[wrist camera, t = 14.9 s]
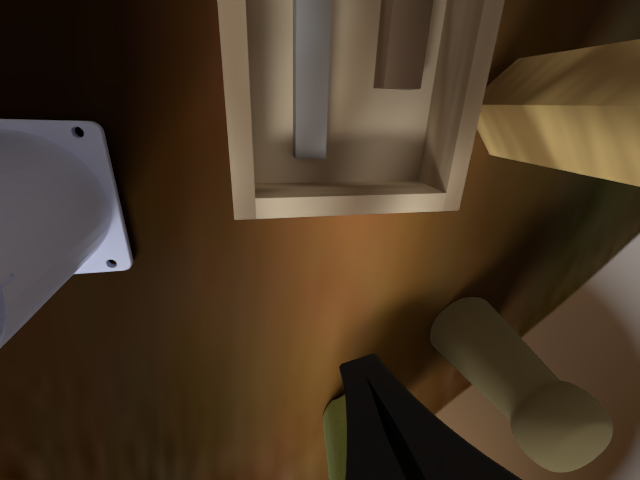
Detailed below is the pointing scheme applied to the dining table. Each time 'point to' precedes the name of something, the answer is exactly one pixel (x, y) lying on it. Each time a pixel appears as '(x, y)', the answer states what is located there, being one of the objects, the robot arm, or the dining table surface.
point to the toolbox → (353, 103)
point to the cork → (522, 387)
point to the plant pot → (336, 438)
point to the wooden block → (569, 111)
